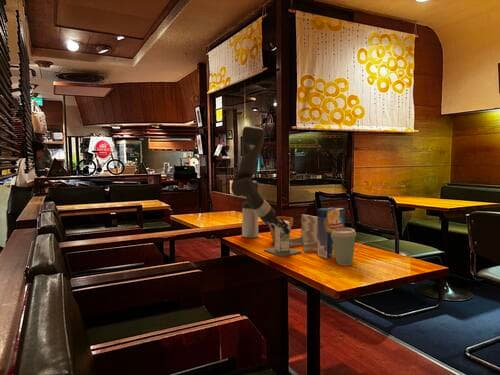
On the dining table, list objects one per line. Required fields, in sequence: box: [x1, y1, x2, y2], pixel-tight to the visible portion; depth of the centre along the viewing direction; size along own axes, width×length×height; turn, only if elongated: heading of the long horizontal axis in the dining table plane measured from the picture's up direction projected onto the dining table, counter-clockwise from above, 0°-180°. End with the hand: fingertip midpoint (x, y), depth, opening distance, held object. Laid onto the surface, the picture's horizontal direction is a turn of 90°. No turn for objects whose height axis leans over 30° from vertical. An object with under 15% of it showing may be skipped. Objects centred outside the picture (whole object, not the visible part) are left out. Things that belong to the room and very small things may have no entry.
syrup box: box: [273, 221, 291, 252], centre depth 174 cm, size 6×6×14 cm
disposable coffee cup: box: [331, 227, 357, 267], centre depth 153 cm, size 11×11×15 cm
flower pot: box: [268, 216, 294, 243], centre depth 198 cm, size 14×14×13 cm
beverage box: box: [316, 206, 346, 259], centre depth 167 cm, size 7×11×22 cm, turn 122°
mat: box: [263, 247, 302, 258], centre depth 174 cm, size 14×12×1 cm
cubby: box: [290, 213, 318, 253], centre depth 182 cm, size 14×12×16 cm
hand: (282, 231), depth 174 cm, fingers open, 8 cm apart
